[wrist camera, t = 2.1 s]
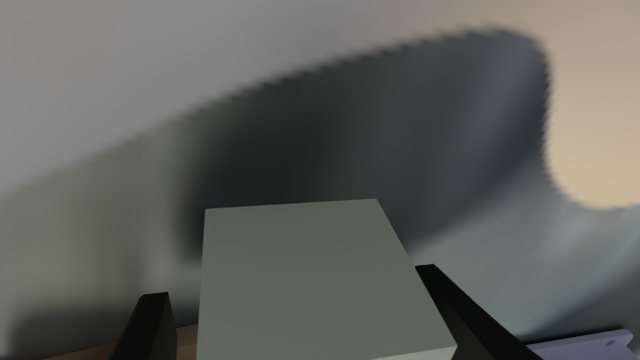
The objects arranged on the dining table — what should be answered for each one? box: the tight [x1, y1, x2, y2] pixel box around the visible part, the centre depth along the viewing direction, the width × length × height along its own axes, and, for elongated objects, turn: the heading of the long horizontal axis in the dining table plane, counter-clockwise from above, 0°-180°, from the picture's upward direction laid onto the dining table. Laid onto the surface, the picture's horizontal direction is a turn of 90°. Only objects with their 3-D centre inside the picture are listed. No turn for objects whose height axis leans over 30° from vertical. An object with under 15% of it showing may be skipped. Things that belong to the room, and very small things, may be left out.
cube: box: [196, 199, 457, 360], centre depth 10 cm, size 5×5×5 cm
